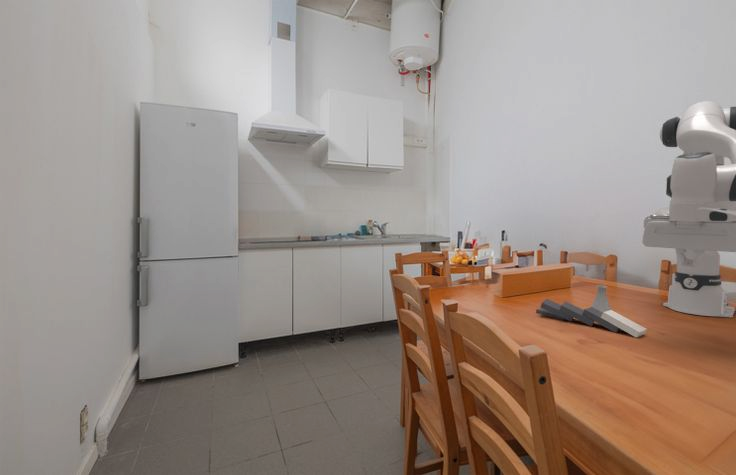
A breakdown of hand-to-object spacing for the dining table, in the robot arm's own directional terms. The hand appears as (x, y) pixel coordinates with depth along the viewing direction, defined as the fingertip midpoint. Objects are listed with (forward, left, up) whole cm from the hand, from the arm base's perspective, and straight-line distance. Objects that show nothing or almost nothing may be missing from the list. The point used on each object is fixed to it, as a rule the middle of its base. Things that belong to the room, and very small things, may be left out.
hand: (689, 266), depth 88 cm
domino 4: (+2, -14, -21) cm, 26 cm away
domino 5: (+2, -9, -21) cm, 23 cm away
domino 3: (+3, -22, -21) cm, 30 cm away
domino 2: (+4, -28, -20) cm, 35 cm away
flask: (-14, -28, -22) cm, 38 cm away
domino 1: (+4, -30, -22) cm, 37 cm away
